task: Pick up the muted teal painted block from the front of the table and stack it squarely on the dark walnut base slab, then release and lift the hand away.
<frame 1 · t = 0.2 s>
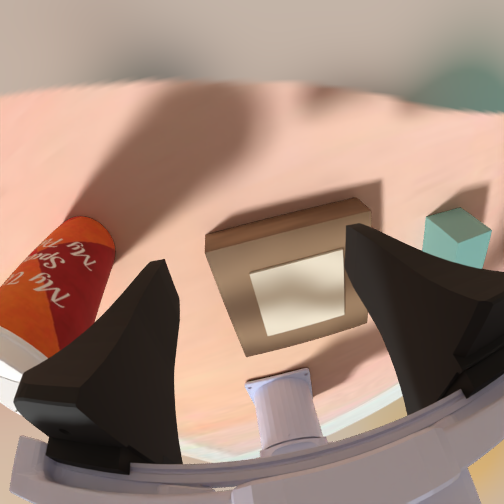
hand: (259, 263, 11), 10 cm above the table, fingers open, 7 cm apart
teal block: (440, 233, 24), on the table
paper cup: (85, 245, 20), on the table
walnut base: (293, 273, 25), on the table
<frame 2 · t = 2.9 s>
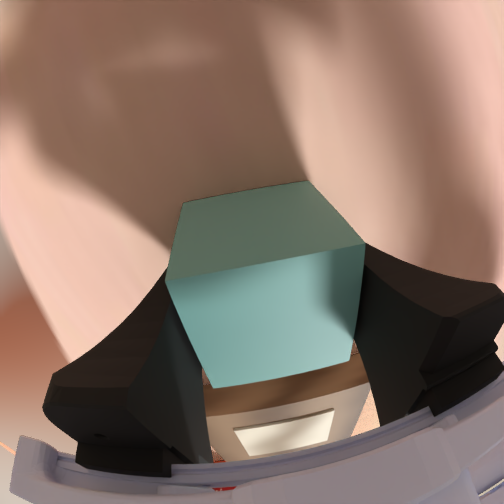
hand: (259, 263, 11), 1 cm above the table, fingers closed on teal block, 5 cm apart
teal block: (255, 245, 12), on the table, touching gripper
walnut base: (280, 405, 21), on the table
when the fingers open (6 cm above the table, at t = 6.2 s): teal block drops 2 cm, resting on walnut base.
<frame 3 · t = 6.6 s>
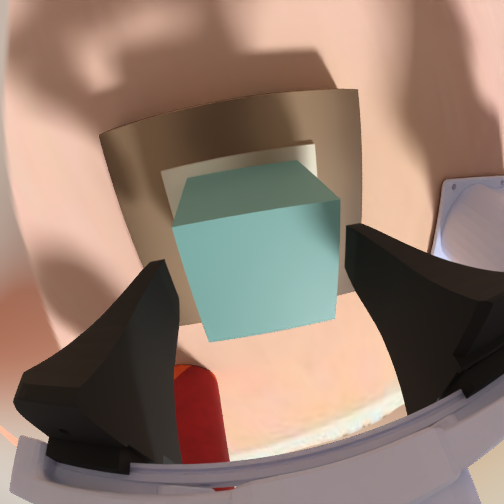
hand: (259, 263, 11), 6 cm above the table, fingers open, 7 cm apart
teal block: (250, 217, 14), point 3 cm above the table, touching walnut base
paper cup: (188, 379, 25), on the table
walnut base: (243, 201, 17), on the table, touching teal block
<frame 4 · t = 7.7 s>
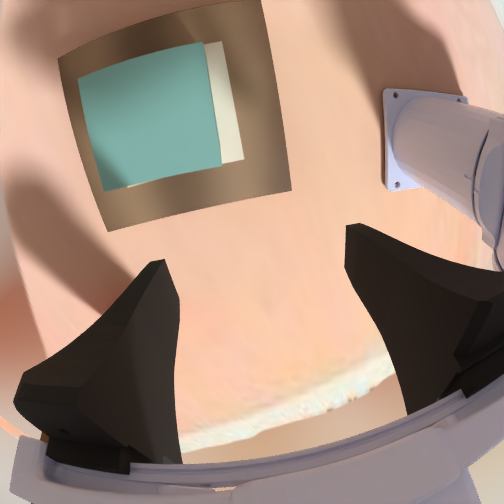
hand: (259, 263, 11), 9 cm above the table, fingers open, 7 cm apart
teal block: (167, 110, 13), point 3 cm above the table
walnut base: (176, 110, 16), on the table
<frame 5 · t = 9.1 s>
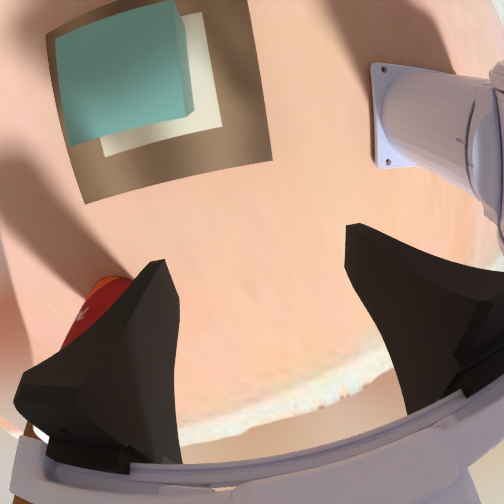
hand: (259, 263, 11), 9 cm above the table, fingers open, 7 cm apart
teal block: (143, 76, 12), point 3 cm above the table, touching walnut base
paper cup: (121, 300, 23), on the table
walnut base: (158, 84, 15), on the table, touching teal block
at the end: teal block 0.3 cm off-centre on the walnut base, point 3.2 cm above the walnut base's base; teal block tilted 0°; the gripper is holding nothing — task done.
